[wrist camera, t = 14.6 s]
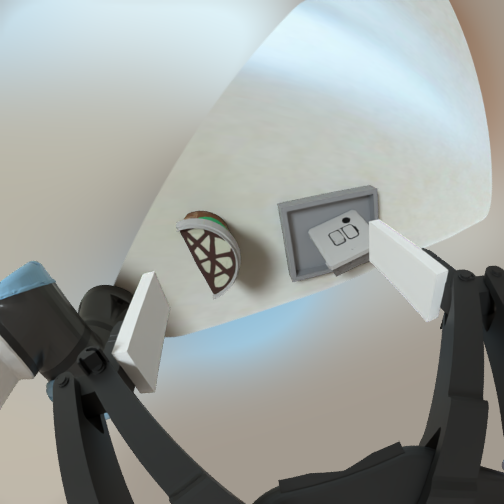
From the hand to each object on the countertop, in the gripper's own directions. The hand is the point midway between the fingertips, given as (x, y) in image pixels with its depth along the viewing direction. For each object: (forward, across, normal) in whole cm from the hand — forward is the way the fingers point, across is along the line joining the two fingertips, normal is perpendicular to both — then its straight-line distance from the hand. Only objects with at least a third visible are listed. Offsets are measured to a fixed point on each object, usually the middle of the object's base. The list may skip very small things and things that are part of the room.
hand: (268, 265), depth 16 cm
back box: (+29, +14, -12) cm, 34 cm away
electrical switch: (+28, +15, -12) cm, 34 cm away
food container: (+29, -5, -8) cm, 30 cm away
